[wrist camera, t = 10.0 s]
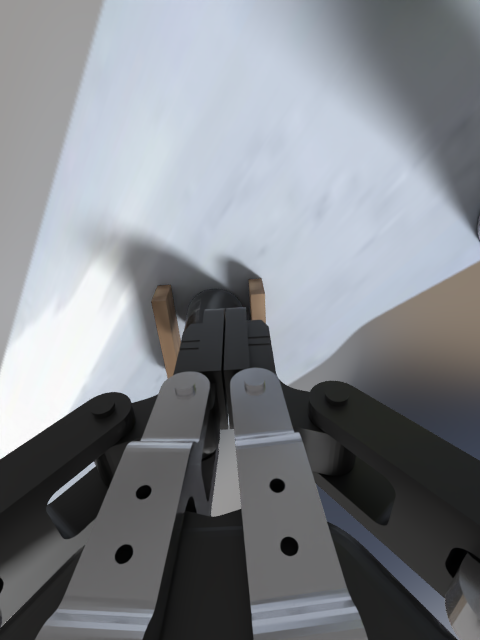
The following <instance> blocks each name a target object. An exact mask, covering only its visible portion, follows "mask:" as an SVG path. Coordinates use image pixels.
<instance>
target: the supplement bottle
mask: <svg viewBox="0 0 480 640" xmlns="http://www.w3.org/2000/svg"><path fill="white" fill-rule="evenodd" d="M238 307H242V304H241V302H240V301H239V299H238V298H237V297H236V296H235V295H233V294H232V293H230V292H228V291H226V290H222V289H209V290H205V291H203V292H201V293H199V294H198V295H196V296H195V297H194V298H193V300H192V301H191V302H190V304H189V307H188V311H187V316H186V322H185V329H184V331H185V330H186V329H187V328H188V327H189V325H190V324H197V323H203V317H204V311H205V310H206V309H223V308H225V312H226V308H238Z"/></svg>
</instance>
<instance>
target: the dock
mask: <svg viewBox="0 0 480 640" xmlns="http://www.w3.org/2000/svg"><path fill="white" fill-rule="evenodd" d="M249 298H250V317H251V320H262V321H263V322H264V323H265V324H266V317H265V292H264V287H263V283H262V278H260V279H249ZM151 303H152V308H153V312H154V317H155V321H156V326H157V331H158V335H159V340H160V345H161V349H162V354H163V359H164V363H165V368H166V372H167V377H168V378H170V377H171V376H173V374H174V370H175V365H176V361H177V357H178V353H179V351H180V349H179V348H180V344H181V340H180V334H179V329H178V323H177V317H176V312H175V306H174V301H173V295H172V289H171V285H160V286H157V289H156V291H155V294H154V296H153V298H152V301H151Z"/></svg>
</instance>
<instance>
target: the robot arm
mask: <svg viewBox="0 0 480 640" xmlns="http://www.w3.org/2000/svg"><path fill="white" fill-rule="evenodd" d="M478 236H479V239H480V216H479V220H478ZM179 349H180V351H179V353H178V357H177V361H176V365H175V370H174V374H173V376H171V377H170V378H168V379H167V380H166V381H165V382H164V383H163V385H162V386H161V389H160V391H159V394H158V395H156V396H153V397H151V398H148V399H145V400H141V401H138V402H134V403H131V401H130V399H129V397H128V396H126V395H125V394H122V393H118V392H110V393H105V394H101V395H98V396H96V397H94V398H92V399H91V400H89V401H87V402H86V403H84V404H83V405H81V406H80V407H78V408H77V409H75V410H74V411H72V412H71V413H69V414H68V415H66V416H65V417H63V418H62V419H60V420H59V421H57V422H56V423H54V424H53V425H51V426H50V427H48V428H47V429H45V430H44V431H42V432H41V433H39V434H38V435H36V436H35V437H33V438H32V439H30V440H29V441H27V442H26V443H24V444H23V445H21V446H20V447H18V448H17V449H15V450H14V451H12V452H11V453H9V454H8V455H6V456H5V457H3V458H2V459H0V640H457V639H456V638H455V637H454V636H453V635H452V634H451V633H450V632H449V631H448V630H447V629H446V628H445V627H444V626H443V625H442V624H441V623H440V622H439V621H438V620H437V619H436V618H435V617H434V616H433V615H432V614H431V613H430V612H429V611H428V610H427V609H426V608H425V607H424V606H423V605H422V604H421V603H420V602H419V601H418V600H417V599H416V598H415V597H414V596H413V595H412V594H411V593H410V592H409V591H408V590H407V589H406V588H405V587H404V586H403V585H402V584H401V583H400V582H399V581H398V580H397V579H396V578H395V577H394V576H393V575H392V574H391V573H390V572H389V571H388V570H387V569H386V568H385V567H384V566H383V565H382V564H381V563H380V562H379V561H378V560H377V559H376V558H375V557H374V556H373V555H372V554H371V553H370V552H369V551H368V550H367V549H366V548H365V547H364V546H363V545H361V544H360V543H359V542H358V541H357V540H356V539H355V538H353V537H352V536H351V535H349V534H348V533H347V532H345V531H344V530H342V529H340V528H339V527H337V526H335V525H333V524H331V523H329V522H327V520H326V517H325V514H324V510H323V507H322V504H321V500H320V497H319V494H318V491H317V487H316V484H317V485H318V486H319V487H320V488H321V489H323V490H324V491H325V492H326V493H327V494H328V495H329V496H330V497H332V498H333V499H334V500H335V501H336V502H337V503H338V504H339V505H341V506H342V507H343V508H344V509H345V510H346V511H347V512H348V513H350V514H351V515H352V516H353V517H354V518H355V519H356V520H357V521H358V522H360V523H361V524H362V525H363V526H364V527H365V528H366V529H367V530H369V531H370V532H371V533H372V534H373V535H374V536H375V537H376V538H378V539H379V540H380V541H381V542H382V543H383V544H384V545H386V546H387V547H388V548H389V549H390V550H391V551H392V552H393V553H394V554H396V555H397V556H398V557H399V558H400V559H401V560H402V561H403V562H404V563H406V564H407V565H408V566H409V567H410V568H411V569H412V570H413V571H415V572H416V573H417V574H418V575H419V576H420V577H421V578H423V579H424V580H425V581H426V582H427V583H428V584H429V585H430V586H431V587H432V588H434V589H435V590H436V591H437V592H438V593H439V594H440V595H442V596H443V597H444V598H445V607H446V613H447V616H448V619H449V622H450V624H451V626H452V628H453V630H454V632H455V633H456V635H457V636H458V638H459V639H460V640H480V461H479V460H478V459H476V458H474V457H472V456H471V455H469V454H467V453H466V452H464V451H462V450H461V449H459V448H457V447H455V446H453V445H452V444H450V443H449V442H447V441H445V440H443V439H441V438H440V437H438V436H437V435H435V434H433V433H432V432H430V431H428V430H426V429H424V428H423V427H421V426H420V425H418V424H416V423H415V422H413V421H411V420H409V419H408V418H406V417H404V416H403V415H401V414H399V413H397V412H395V411H394V410H392V409H390V408H389V407H387V406H386V405H384V404H382V403H380V402H379V401H377V400H375V399H374V398H372V397H370V396H369V395H367V394H365V393H363V392H362V391H360V390H358V389H357V388H355V387H353V386H351V385H349V384H347V383H344V382H340V381H325V382H321V383H319V384H317V385H315V386H314V387H313V388H312V389H311V391H310V392H307V391H302V390H297V389H293V388H291V387H289V386H287V385H285V384H284V383H282V382H281V381H280V380H279V378H278V377H277V375H276V371H275V364H274V358H273V352H272V346H271V339H270V333H269V327H268V326H267V325H266V324H265V323H264V322H263V321H262V320H247V314H246V307H238V308H226V312H225V308H223V309H206V310H205V311H204V317H203V323H197V324H190V325H189V327H188V328H187V329H186V330H185V331H184V332H183V336H182V340H181V344H180V348H179ZM228 415H229V424H230V429H234V434H235V445H236V456H237V467H238V477H239V488H240V499H241V509H240V510H237V511H233V512H230V513H227V514H224V515H221V516H217V517H211V510H212V502H213V494H214V486H215V479H216V472H217V464H218V457H219V446H218V444H219V440H220V430H222V429H228ZM93 461H94V462H95V465H96V467H94V468H93V469H92V470H91V471H89V472H88V473H87V474H86V475H85V476H83V477H82V478H81V479H80V480H78V481H77V482H76V483H75V484H74V485H72V486H71V487H70V488H69V489H67V490H66V491H65V492H64V493H63V494H61V495H60V496H59V497H58V498H56V499H55V500H54V501H53V502H51V503H50V504H48V505H47V503H48V501H49V499H50V498H51V497H52V495H53V494H54V493H55V492H56V491H57V490H59V489H60V488H61V487H62V486H64V485H65V484H66V483H67V482H69V481H70V480H71V479H72V478H74V477H75V476H76V475H77V474H79V473H80V472H81V471H82V470H84V469H85V468H86V467H87V466H88V465H90V464H91V463H92V462H93ZM315 483H316V484H315ZM27 600H28V601H27ZM26 601H27V602H26ZM25 602H26V603H25ZM24 603H25V604H24ZM23 604H24V605H23ZM22 605H23V606H22ZM21 606H22V607H21ZM20 607H21V608H20ZM19 608H20V609H19ZM18 609H19V610H18ZM17 610H18V611H17ZM16 611H17V612H16ZM15 612H16V613H15ZM14 613H15V614H14ZM13 614H14V615H13ZM12 615H13V616H12ZM11 616H12V617H11ZM10 617H11V618H10ZM9 618H10V619H9ZM8 619H9V620H8ZM7 620H8V621H7ZM6 621H7V622H6ZM5 622H6V623H5ZM4 623H5V624H4ZM3 624H4V625H3ZM2 625H3V626H2ZM1 626H2V627H1Z"/></svg>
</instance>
